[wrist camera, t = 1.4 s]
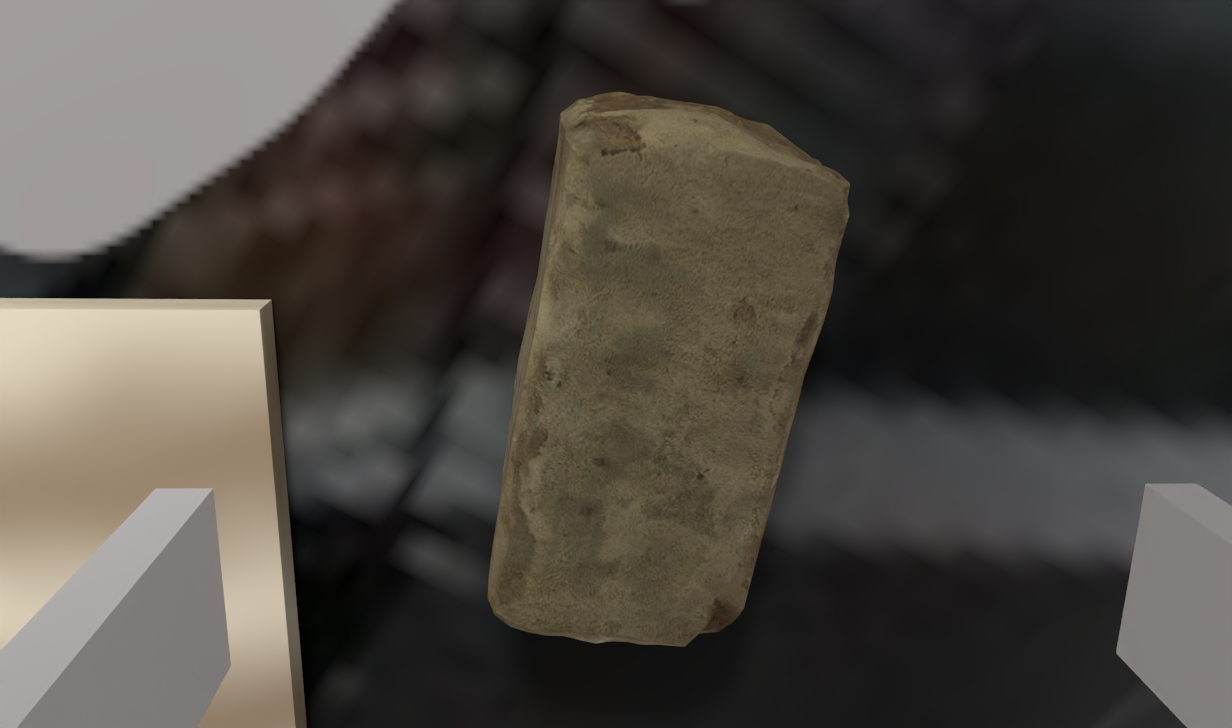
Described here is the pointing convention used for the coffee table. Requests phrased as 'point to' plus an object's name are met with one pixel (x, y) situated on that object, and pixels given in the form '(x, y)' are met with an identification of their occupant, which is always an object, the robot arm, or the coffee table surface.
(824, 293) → the stone block
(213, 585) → the robot arm
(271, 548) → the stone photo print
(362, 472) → the coffee table surface
